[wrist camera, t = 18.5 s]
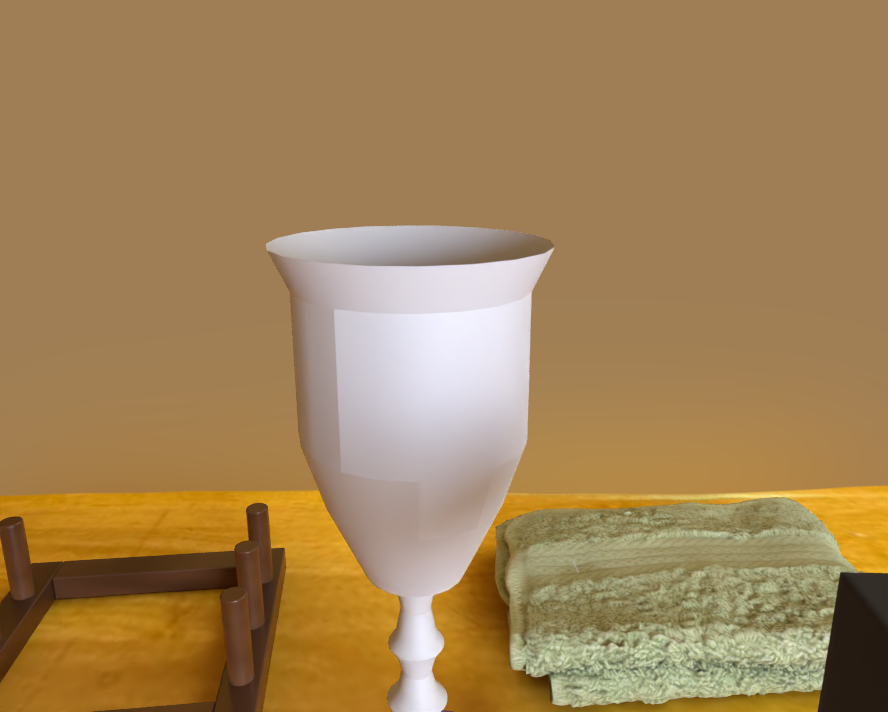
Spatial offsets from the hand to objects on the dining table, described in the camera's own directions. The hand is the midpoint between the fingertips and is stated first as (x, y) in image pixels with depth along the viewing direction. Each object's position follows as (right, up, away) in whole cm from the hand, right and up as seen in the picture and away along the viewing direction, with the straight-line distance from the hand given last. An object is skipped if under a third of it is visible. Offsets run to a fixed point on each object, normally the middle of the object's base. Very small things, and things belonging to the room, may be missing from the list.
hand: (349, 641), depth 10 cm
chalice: (+1, -11, +13) cm, 17 cm away
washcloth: (+13, -8, +25) cm, 29 cm away
